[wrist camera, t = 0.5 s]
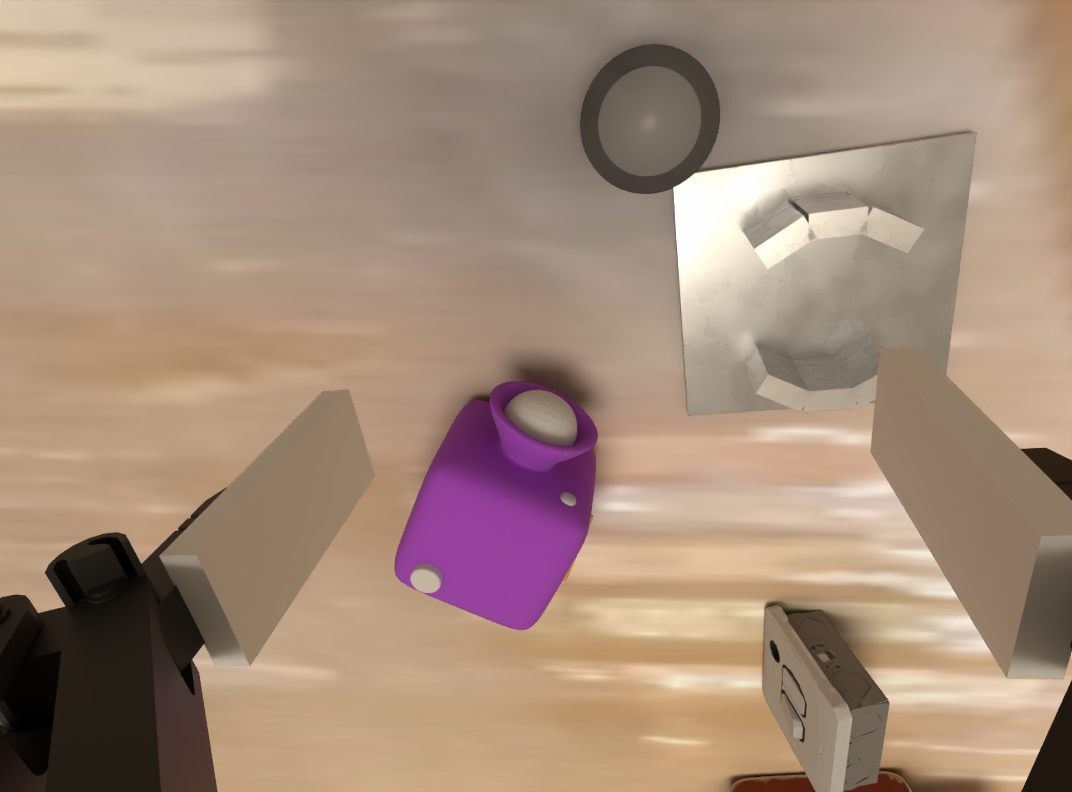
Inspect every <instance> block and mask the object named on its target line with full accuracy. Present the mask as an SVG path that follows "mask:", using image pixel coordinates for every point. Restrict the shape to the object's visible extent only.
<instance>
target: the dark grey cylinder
mask: <svg viewBox="0 0 1072 792" xmlns="http://www.w3.org/2000/svg"><path fill="white" fill-rule="evenodd" d="M719 122H720V106H719V99H718V95H717V91H716V88H715V86H714V83H713V81H712V79H711V77H710V75H709V74H708V72H707V71H706V70H705V68H704V67H703V66H702V65H701V64H700V63H699V62H698V61H697V60H696V59H695V58H693V57H692V56H691V55H689V54H688V53H686V52H684V51H682V50H680V49H677V48H674V47H671V46H666V45H655V44H652V45H643V46H639V47H635V48H632V49H630V50H627V51H625V52H623V53H621V54H620V55H618V56H616V57H615V58H614V59H612V60H611V61H610V62H608V63H607V64H606V65H605V66H604V67H603V68H602V69H601V70H600V72H599V73H598V74H597V76H596V77H595V78H594V80H593V82H592V83H591V85H590V87H589V89H588V91H587V93H586V96H585V99H584V102H583V106H582V111H581V121H580V127H581V137H582V143H583V146H584V149H585V152H586V154H587V156H588V159H589V161H590V162H591V164H592V165H593V167H594V168H595V169H596V171H597V172H598V173H599V174H600V175H601V176H602V177H603V178H604V179H605V180H606V181H608V182H609V183H611V184H612V185H614V186H616V187H618V188H620V189H622V190H625V191H628V192H633V193H640V194H651V193H658V192H663V191H666V190H669V189H672V188H674V187H676V186H678V185H680V184H681V183H683V182H684V181H686V180H687V179H688V178H690V177H691V176H692V175H693V174H694V173H695V172H696V171H697V170H698V169H699V168H700V167H701V166H702V164H703V163H704V162H705V160H706V159H707V157H708V155H709V154H710V152H711V150H712V148H713V145H714V143H715V141H716V137H717V133H718V129H719Z"/></svg>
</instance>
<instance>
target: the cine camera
mask: <svg viewBox="0 0 1072 792" xmlns="http://www.w3.org/2000/svg"><path fill="white" fill-rule="evenodd" d="M730 792H816V791H815V789H814V788H813V786H812V784H811V782H810V780H809V779H808V777H807V775H806V774H802V775H782V776H763V777H751V778H744V779H740V780H738V781H736V782H735V783H733V785H732V786H731V791H730ZM843 792H912V791H911V789H910V787H909V786H908V784H907V783H906V782H905V780H904V779H903V778H902V777H901V776H900V775H897V774H895V773H893V772H887V771H879V773H878V780H877V783H873V784H868V785H862V786H858V787H856V788H854V789H852V790H848V791H843Z"/></svg>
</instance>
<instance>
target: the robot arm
mask: <svg viewBox="0 0 1072 792" xmlns="http://www.w3.org/2000/svg"><path fill="white" fill-rule="evenodd" d="M871 454H872V455H873V457H874V459H875V460H876V462H877V464H878V465H879V467H880V469H881V470H882V472H883V474H884V475H885V477H886V479H887V480H888V482H889V484H890V485H891V487H892V489H893V490H894V492H895V494H896V495H897V497H898V499H899V500H900V502H901V504H902V505H903V507H904V509H905V510H906V512H907V514H908V515H909V517H910V518H911V520H912V522H913V523H914V525H915V527H916V528H917V530H918V532H919V533H920V535H921V537H922V538H923V540H924V542H925V543H926V545H927V547H928V548H929V550H930V552H931V553H932V555H933V557H934V558H935V560H936V562H937V563H938V565H939V567H940V568H941V570H942V572H943V573H944V575H945V577H946V578H947V580H948V582H949V583H950V585H951V586H952V588H953V590H954V591H955V593H956V595H957V596H958V598H959V600H960V601H961V603H962V605H963V606H964V608H965V610H966V611H967V613H968V615H969V616H970V618H971V620H972V621H973V623H974V625H975V626H976V628H977V630H978V631H979V633H980V635H981V636H982V638H983V640H984V641H985V643H986V645H987V646H988V648H989V649H990V651H991V653H992V654H993V656H994V658H995V659H996V661H997V663H998V664H999V666H1000V668H1001V669H1002V671H1003V673H1004V674H1005V676H1006V678H1009V679H1064V676H1065V673H1066V669H1067V666H1068V662H1069V659H1070V656H1071V652H1072V460H1070V459H1068V458H1066V457H1064V456H1062V455H1060V454H1058V453H1056V452H1054V451H1051V450H1049V449H1047V448H1030V449H1020V448H1019V447H1018V446H1017V445H1016V444H1015V443H1014V442H1013V441H1012V440H1011V439H1010V438H1009V437H1008V436H1007V435H1005V434H1004V433H1003V432H1002V431H1001V430H1000V429H999V428H998V427H997V426H996V425H995V424H994V423H993V422H992V421H991V420H990V419H989V418H988V417H987V416H986V415H985V414H984V413H983V412H982V411H981V410H980V409H979V408H978V407H977V406H976V405H975V404H974V403H973V402H972V401H971V400H970V399H969V398H968V397H967V396H966V395H965V394H964V393H963V392H962V391H961V390H960V389H959V388H958V387H957V386H956V385H955V384H954V383H953V382H952V381H951V380H950V379H949V378H948V377H947V376H946V375H945V374H944V373H943V372H942V371H941V370H940V369H939V368H938V367H937V366H936V365H935V364H934V363H933V362H932V361H931V360H930V359H929V358H928V357H927V356H926V355H925V354H924V353H923V352H922V351H921V350H920V349H919V348H918V347H917V346H911V347H898V348H885V349H880V353H879V364H878V375H877V386H876V397H875V408H874V419H873V431H872V442H871ZM374 477H375V473H374V470H373V467H372V464H371V460H370V457H369V454H368V451H367V447H366V444H365V441H364V437H363V434H362V431H361V428H360V424H359V421H358V418H357V415H356V411H355V408H354V405H353V402H352V398H351V395H350V392H349V390H336V391H323V392H322V393H321V394H320V395H319V396H318V397H317V398H316V399H315V400H314V401H313V402H312V403H311V404H310V405H309V406H308V407H307V408H306V409H305V410H304V411H303V412H302V413H301V414H300V415H299V416H298V417H297V418H296V419H295V420H294V421H293V422H292V423H291V424H290V425H289V426H288V427H287V428H286V429H285V430H284V431H283V432H282V433H281V434H280V435H279V436H278V437H277V438H276V439H275V440H274V441H273V442H272V443H271V444H270V445H269V446H268V447H267V448H266V449H265V450H264V451H263V452H262V453H261V454H260V455H259V456H258V457H257V458H256V459H255V460H254V461H253V462H252V463H251V464H250V465H249V466H248V467H247V468H246V469H245V470H244V471H243V472H242V473H241V474H240V475H239V476H238V477H237V478H236V479H235V480H234V481H233V482H232V483H231V484H230V485H229V486H228V487H226V488H225V489H223V490H222V491H220V492H219V493H217V494H215V495H214V496H212V497H211V498H209V499H208V500H206V501H205V502H204V503H203V504H202V505H201V506H200V507H199V508H198V509H197V510H196V511H195V512H194V513H193V514H192V515H191V518H190V519H187V520H186V521H185V522H184V523H183V524H182V525H181V526H180V527H179V528H178V531H175V532H174V533H172V534H171V535H170V536H169V537H168V538H167V539H166V540H165V541H164V542H163V543H162V544H161V545H160V546H159V547H158V548H157V549H156V550H155V551H154V552H153V553H152V554H151V555H150V556H149V557H148V558H147V559H146V560H145V561H144V562H143V563H142V564H141V563H140V561H139V559H138V557H137V555H136V553H135V551H134V549H133V547H132V546H131V544H130V542H129V540H128V538H127V537H126V535H125V534H121V533H117V532H115V533H106V534H101V535H98V536H95V537H92V538H89V539H86V540H84V541H82V542H80V543H78V544H76V545H73V546H72V547H70V548H69V549H67V550H66V551H64V552H63V553H61V554H60V555H58V556H57V557H56V558H55V559H54V560H53V561H52V562H51V563H50V564H49V566H48V568H47V569H46V571H45V574H46V575H47V577H48V579H49V580H50V582H51V583H52V585H53V587H54V588H55V590H56V592H57V593H58V595H59V596H60V598H61V600H62V601H63V603H64V604H65V606H66V607H62V608H58V609H54V610H50V611H45V612H41V613H38V612H37V611H36V609H35V608H34V606H33V605H32V603H31V602H30V600H29V599H28V598H27V597H26V596H25V595H11V596H6V597H2V598H0V723H1V724H0V792H217V786H216V779H215V773H214V767H213V760H212V754H211V747H210V741H209V734H208V728H207V721H206V715H205V708H204V702H203V695H202V689H201V682H200V676H199V672H198V670H197V668H196V666H195V664H194V662H193V660H192V659H193V657H194V656H195V655H196V653H197V652H198V651H199V649H200V648H201V647H202V646H203V644H205V646H206V648H207V650H208V652H209V654H210V656H211V658H212V660H213V662H214V664H215V666H250V665H251V664H252V662H253V661H254V659H255V658H256V656H257V655H258V653H259V652H260V650H261V649H262V647H263V646H264V644H265V643H266V641H267V640H268V638H269V637H270V635H271V634H272V632H273V630H274V629H275V627H276V626H277V624H278V623H279V621H280V620H281V618H282V617H283V615H284V614H285V612H286V611H287V609H288V608H289V606H290V605H291V603H292V602H293V600H294V599H295V597H296V595H297V594H298V592H299V591H300V589H301V588H302V586H303V585H304V583H305V582H306V580H307V579H308V577H309V576H310V574H311V573H312V571H313V570H314V568H315V567H316V565H317V564H318V562H319V560H320V559H321V557H322V556H323V554H324V553H325V551H326V550H327V548H328V547H329V545H330V544H331V542H332V541H333V539H334V538H335V536H336V535H337V533H338V532H339V530H340V529H341V527H342V525H343V524H344V522H345V521H346V519H347V518H348V516H349V515H350V513H351V512H352V510H353V509H354V507H355V506H356V504H357V503H358V501H359V500H360V498H361V497H362V495H363V494H364V492H365V490H366V489H367V487H368V486H369V484H370V483H371V481H372V480H373V478H374ZM1021 792H1072V681H1071V683H1070V685H1069V687H1068V690H1067V692H1066V694H1065V696H1064V698H1063V701H1062V703H1061V705H1060V707H1059V709H1058V712H1057V714H1056V716H1055V718H1054V721H1053V723H1052V725H1051V727H1050V729H1049V732H1048V734H1047V736H1046V738H1045V741H1044V743H1043V745H1042V747H1041V749H1040V752H1039V754H1038V756H1037V758H1036V760H1035V763H1034V765H1033V767H1032V769H1031V772H1030V774H1029V776H1028V778H1027V780H1026V783H1025V785H1024V787H1023V789H1022V791H1021Z"/></svg>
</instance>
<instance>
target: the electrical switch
mask: <svg viewBox="0 0 1072 792" xmlns="http://www.w3.org/2000/svg"><path fill="white" fill-rule="evenodd" d="M820 645H824V646H822V647H820ZM827 652H828V653H829V654H830V655H831V656H832V657H834V659H832V660H830V659H829V658H828V656H827V655H826V654H825V653H827ZM869 689H870V690H869ZM763 694H764V697H765V700H766V702H767V704H768V706H769V707H770V709H771V711H772V713H773V715H774V717H775V719H776V720H777V722H778V724H779V726H780V728H781V730H782V731H783V733H784V735H785V737H786V739H787V740H788V742H789V744H790V746H791V748H792V749H793V751H794V753H795V755H796V757H797V759H798V760H799V762H800V764H801V766H802V768H803V769H804V771H805V773H806V775H807V777H808V779H809V780H810V782H811V784H812V786H813V788H814V789H815V791H816V792H843V791H848V790H852V789H854V788H856V787H858V786H862V785H868V784H873V783H877V780H878V773H879V767H880V761H881V754H882V748H883V742H884V735H885V729H886V722H887V716H888V710H889V701H887V700H888V699H887V698H886V696H885V695H884V694H883V692H882V691H881V690H880V688H879V687H878V686H877V684H876V683H875V682H874V680H873V679H872V678H871V676H870V675H869V674H868V672H867V671H866V670H865V668H864V667H863V666H862V664H861V663H860V662H859V660H858V659H857V658H856V656H855V655H854V654H853V652H852V651H851V650H850V649H849V647H848V646H847V645H846V643H845V642H844V641H843V639H842V638H841V637H840V635H839V634H838V633H837V631H836V630H835V629H834V627H833V626H832V625H831V623H830V622H829V621H828V619H827V618H826V617H825V615H824V614H823V613H822V611H821V610H817V611H811V612H806V613H794V614H790V615H786V614H785V613H784V611H783V609H782V608H781V606H778V605H774V606H770V607H767V608H766V609H765V629H764V661H763ZM884 701H886V702H884ZM880 702H882V703H880ZM877 703H878V704H877ZM873 704H874V705H873ZM873 767H874V768H873Z"/></svg>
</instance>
